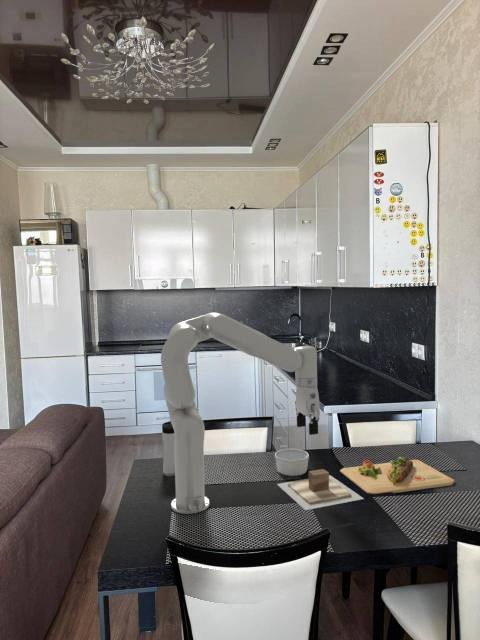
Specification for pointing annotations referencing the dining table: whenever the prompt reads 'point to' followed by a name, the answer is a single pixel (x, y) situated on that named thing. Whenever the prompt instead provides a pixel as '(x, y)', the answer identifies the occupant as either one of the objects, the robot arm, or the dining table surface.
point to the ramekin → (291, 461)
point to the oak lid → (319, 488)
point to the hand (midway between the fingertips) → (307, 430)
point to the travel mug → (168, 449)
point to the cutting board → (396, 476)
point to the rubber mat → (322, 504)
